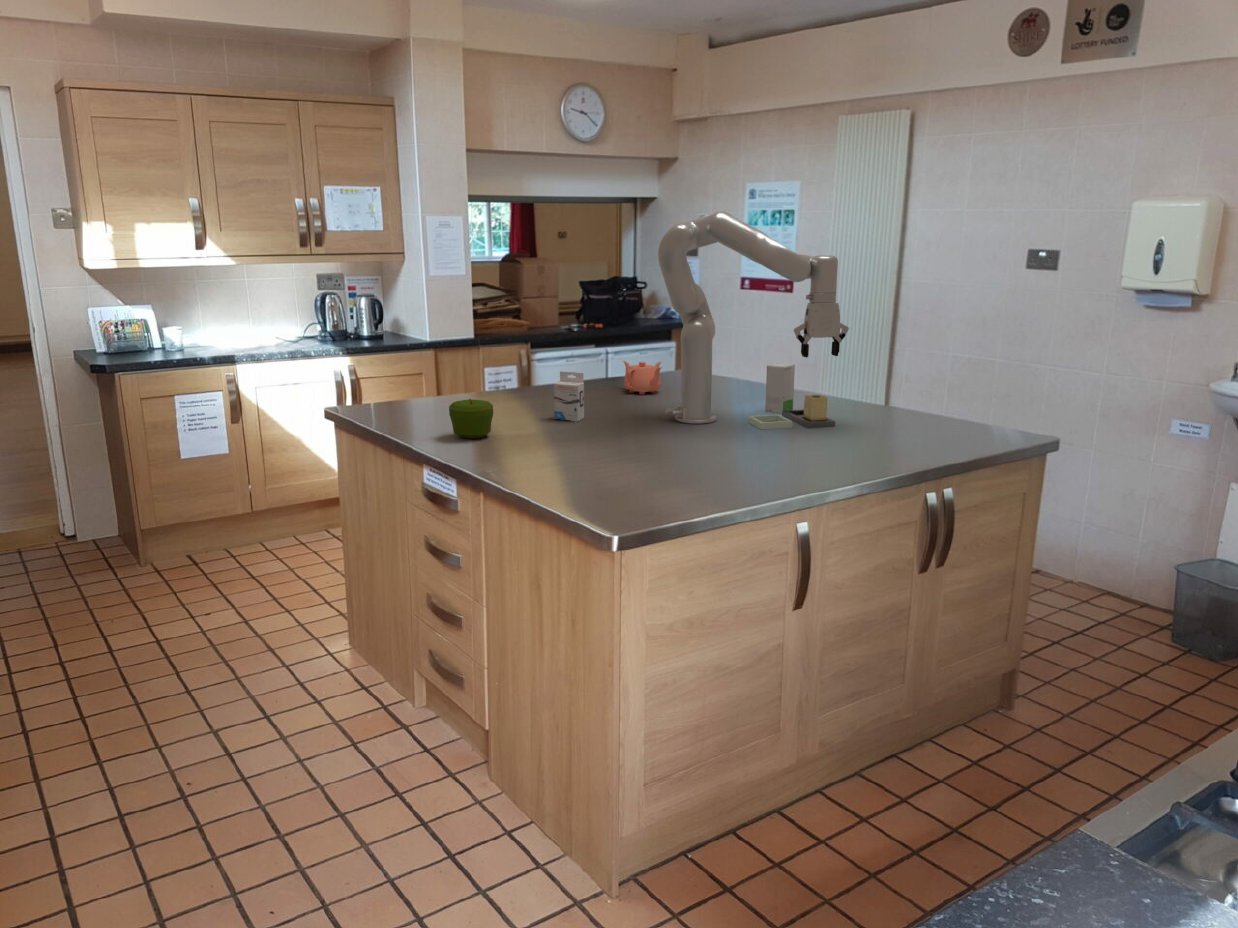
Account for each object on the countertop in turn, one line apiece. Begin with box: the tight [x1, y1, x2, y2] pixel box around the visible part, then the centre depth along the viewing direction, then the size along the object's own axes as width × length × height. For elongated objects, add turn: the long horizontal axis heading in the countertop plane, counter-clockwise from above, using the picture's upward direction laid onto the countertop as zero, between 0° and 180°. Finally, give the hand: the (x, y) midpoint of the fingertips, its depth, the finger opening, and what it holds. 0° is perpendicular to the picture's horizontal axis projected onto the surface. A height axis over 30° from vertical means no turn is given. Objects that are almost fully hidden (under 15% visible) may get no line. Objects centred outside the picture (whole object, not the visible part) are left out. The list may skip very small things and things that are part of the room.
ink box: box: [553, 371, 585, 422], centre depth 288 cm, size 8×5×15 cm, turn 69°
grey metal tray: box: [781, 408, 836, 429], centre depth 285 cm, size 9×18×2 cm, turn 15°
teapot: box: [622, 360, 663, 396], centre depth 332 cm, size 14×14×11 cm
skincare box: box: [764, 362, 796, 415], centre depth 299 cm, size 8×7×16 cm
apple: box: [448, 398, 494, 439], centre depth 267 cm, size 12×12×11 cm
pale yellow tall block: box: [803, 394, 828, 422], centre depth 280 cm, size 5×5×9 cm
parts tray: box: [747, 413, 794, 431], centre depth 280 cm, size 10×10×2 cm
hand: (819, 356), depth 277 cm, fingers open, 9 cm apart
